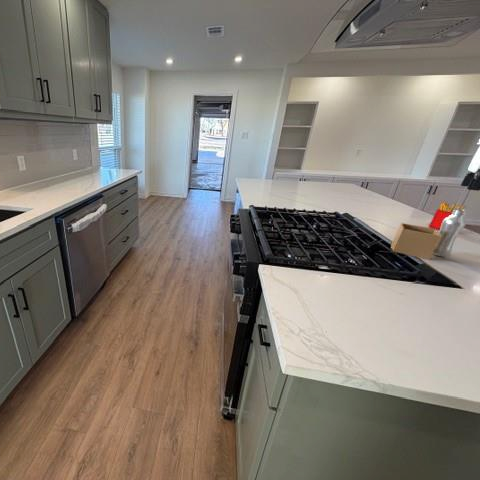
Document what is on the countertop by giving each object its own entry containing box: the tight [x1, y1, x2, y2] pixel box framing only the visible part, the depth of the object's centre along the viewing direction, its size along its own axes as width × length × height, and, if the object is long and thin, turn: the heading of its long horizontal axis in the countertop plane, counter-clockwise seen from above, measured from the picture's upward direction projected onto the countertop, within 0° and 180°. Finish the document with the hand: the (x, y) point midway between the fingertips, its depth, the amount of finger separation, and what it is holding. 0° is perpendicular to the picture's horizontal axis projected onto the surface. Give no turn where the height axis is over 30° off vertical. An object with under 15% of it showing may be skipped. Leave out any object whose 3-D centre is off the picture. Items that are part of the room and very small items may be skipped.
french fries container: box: [428, 202, 466, 231], centre depth 138 cm, size 7×9×14 cm
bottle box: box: [390, 222, 441, 260], centre depth 106 cm, size 11×10×12 cm
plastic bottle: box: [432, 208, 468, 257], centre depth 104 cm, size 6×7×20 cm
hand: (469, 188), depth 98 cm, fingers open, 9 cm apart
